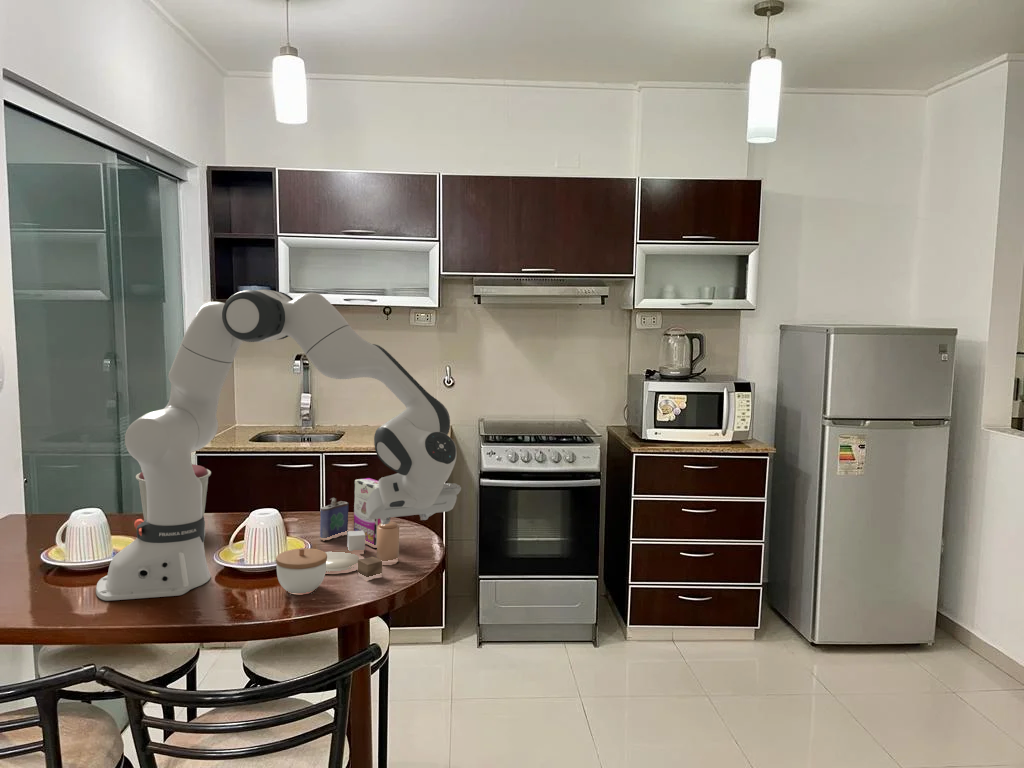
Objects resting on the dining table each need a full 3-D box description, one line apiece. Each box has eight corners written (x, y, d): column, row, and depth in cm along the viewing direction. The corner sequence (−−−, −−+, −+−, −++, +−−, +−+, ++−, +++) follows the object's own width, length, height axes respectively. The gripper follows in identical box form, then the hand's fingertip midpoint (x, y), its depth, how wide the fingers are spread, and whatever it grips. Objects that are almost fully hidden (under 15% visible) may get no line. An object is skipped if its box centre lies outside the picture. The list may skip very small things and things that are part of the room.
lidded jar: (274, 601, 152) (274, 558, 151) (276, 582, 163) (277, 542, 162) (327, 598, 155) (327, 555, 154) (326, 579, 165) (326, 539, 165)
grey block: (348, 555, 182) (349, 536, 182) (347, 550, 186) (347, 531, 186) (364, 554, 184) (365, 535, 183) (362, 549, 187) (363, 530, 187)
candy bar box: (391, 546, 191) (392, 484, 189) (374, 549, 187) (375, 487, 186) (368, 535, 199) (369, 476, 197) (352, 538, 195) (353, 479, 194)
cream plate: (313, 578, 166) (313, 573, 166) (300, 559, 178) (300, 554, 178) (372, 569, 173) (372, 565, 173) (356, 552, 185) (356, 547, 185)
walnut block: (367, 581, 165) (367, 564, 165) (357, 576, 168) (357, 560, 168) (381, 577, 168) (382, 561, 168) (372, 573, 171) (372, 556, 171)
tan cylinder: (380, 567, 175) (381, 528, 174) (373, 560, 180) (374, 522, 179) (401, 564, 178) (402, 525, 177) (394, 557, 182) (395, 519, 181)
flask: (324, 542, 192) (324, 502, 191) (316, 540, 193) (317, 500, 192) (350, 534, 199) (350, 496, 198) (342, 532, 201) (343, 494, 200)
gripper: (459, 472, 165) (441, 503, 174) (372, 478, 155) (358, 511, 165) (467, 495, 161) (448, 526, 171) (378, 504, 152) (363, 536, 161)
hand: (403, 519), depth 168 cm, fingers open, 8 cm apart
